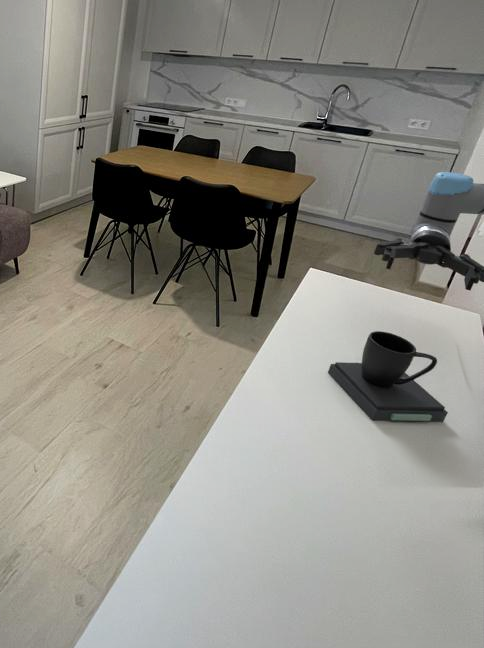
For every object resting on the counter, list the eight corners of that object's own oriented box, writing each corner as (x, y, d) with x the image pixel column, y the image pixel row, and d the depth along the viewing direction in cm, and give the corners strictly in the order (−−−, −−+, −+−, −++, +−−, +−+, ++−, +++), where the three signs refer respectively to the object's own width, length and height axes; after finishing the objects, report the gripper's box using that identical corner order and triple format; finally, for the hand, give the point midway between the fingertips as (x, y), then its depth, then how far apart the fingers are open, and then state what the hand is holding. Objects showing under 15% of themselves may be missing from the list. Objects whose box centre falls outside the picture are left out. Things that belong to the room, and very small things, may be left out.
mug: (423, 406, 98) (442, 366, 94) (353, 382, 104) (369, 344, 100) (419, 384, 105) (437, 346, 101) (354, 362, 110) (369, 326, 106)
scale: (445, 423, 99) (451, 410, 97) (373, 422, 98) (379, 409, 96) (390, 374, 113) (395, 362, 111) (327, 372, 112) (332, 360, 110)
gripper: (490, 275, 113) (499, 310, 97) (364, 244, 126) (354, 270, 111) (504, 245, 110) (516, 276, 94) (374, 217, 123) (365, 239, 108)
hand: (429, 273), depth 102 cm, fingers open, 13 cm apart
